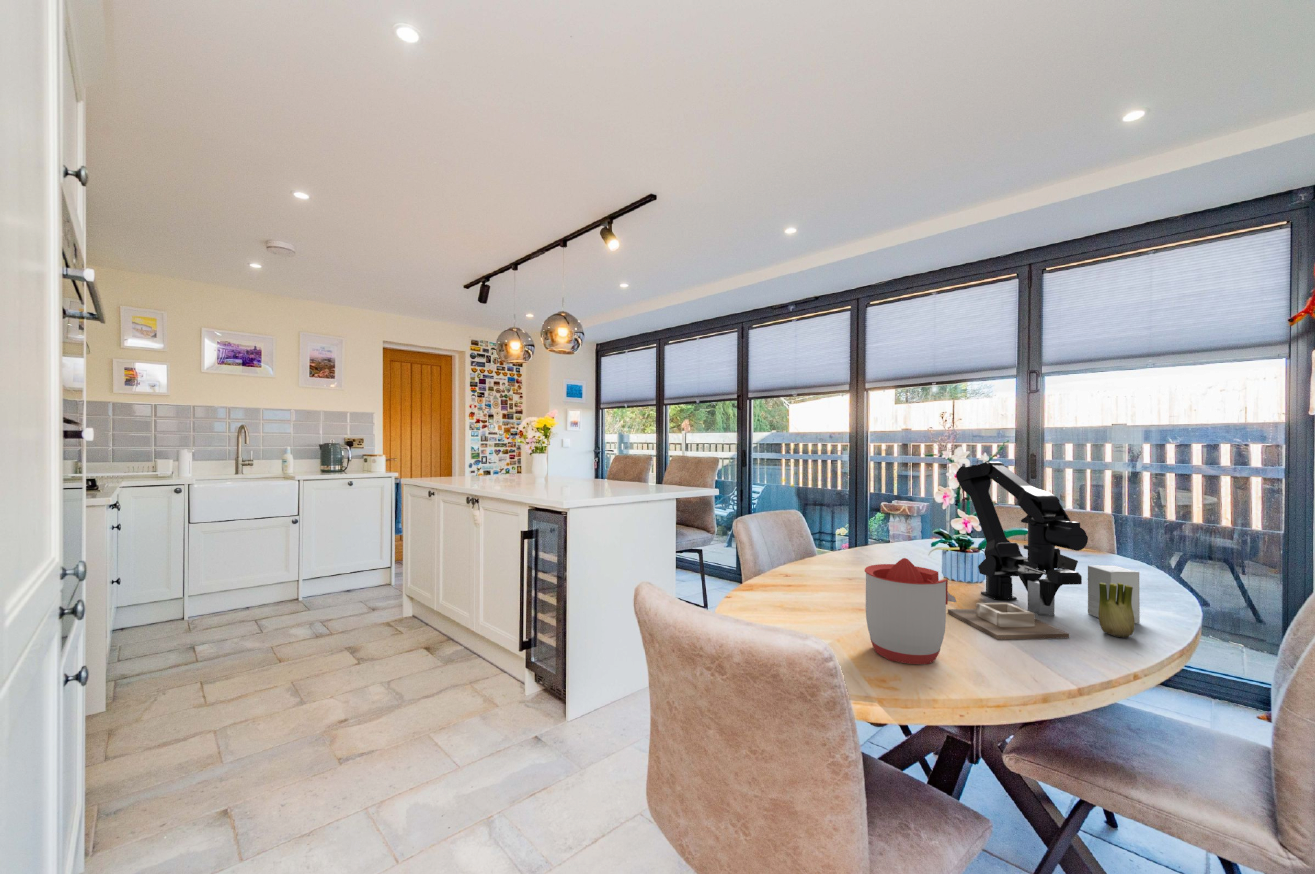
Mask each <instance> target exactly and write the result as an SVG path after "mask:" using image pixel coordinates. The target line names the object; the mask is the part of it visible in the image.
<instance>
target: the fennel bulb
mask: <svg viewBox="0 0 1315 874" xmlns="http://www.w3.org/2000/svg"><path fill="white" fill-rule="evenodd" d="M1099 588H1100V601H1099V618H1098V621H1099V626H1100V628H1101V630H1102V632H1103V633H1106V634H1108V635H1110V636H1112V637H1116V638H1123V639H1127V638H1129V637H1130V636H1132V635H1133V633H1134V632H1135V625H1136V623H1135V621H1134V614H1133V609H1132V604H1131V601H1132V590H1133V587H1131V586H1129V585H1125V587H1124V592H1123V584H1121V583H1118V589H1117V586H1116V584H1113V583H1112V584H1110V586H1109V596H1108V597H1109V598H1108V600H1107V588H1106V584H1105V583H1099ZM1116 593H1117V599H1116Z"/></svg>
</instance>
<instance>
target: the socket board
mask: <svg viewBox="0 0 1315 874" xmlns="http://www.w3.org/2000/svg"><path fill="white" fill-rule="evenodd" d="M975 604H976V606H975V607H976V608H948V609H947V614H948V613H949V615H951V616H952V617H954V618H957V619H958V620H960V621H962V622H963V621H964V623H965V622H966V624H967V625H969V624H970V625H969V626H972V627H973V628H975V629H977V630H979V631H981V632H982V633H984V632H985V633H984V634H986V635H988V636H990V637H992V638H994V639H996V640H1032V639H1034V640H1036V639H1037V640H1041V639H1043V640H1044V639H1070V633H1068V632H1066V631H1064V630H1062V629H1060V628H1057V627H1054V626H1053V625H1050V624H1048V623H1046V622H1043V621H1041V620H1039V619H1036V618H1035V617H1036V616H1035V615H1036V614H1035V613H1032V612H1030V611H1028V609H1025V608H1022V607H1020V606H1017V605H1016V604H1012V603H1011V602H976V603H975Z"/></svg>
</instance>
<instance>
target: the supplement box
mask: <svg viewBox="0 0 1315 874" xmlns="http://www.w3.org/2000/svg"><path fill="white" fill-rule="evenodd" d="M1099 583H1105V584H1106V588H1107V600H1108V598H1109V597H1108V596H1109V586H1110V584H1112V583H1113V584H1116V586H1117V589H1118V583H1121V584H1123V592H1124V587H1125V585H1129V586H1131V587H1133V590H1132V601H1131V604H1132V609H1133V614H1134V621H1135V624H1140V622H1141V621H1140V618H1141V617H1140V616H1141V615H1140V613H1141V612H1140V611H1141V610H1140V572H1139V571H1136V570H1133V569H1128V568H1125V567H1121V566H1118V565H1110V564H1109V565H1107V564H1105V565H1101V564H1100V565H1097V564H1096V565H1095V564H1093V565H1087V614H1088V615H1090V616H1093V617H1095V618H1098V619H1099V601H1100V588H1099ZM1116 599H1117V593H1116Z"/></svg>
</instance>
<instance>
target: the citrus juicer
mask: <svg viewBox="0 0 1315 874" xmlns="http://www.w3.org/2000/svg"><path fill="white" fill-rule="evenodd" d="M864 572H865V618H866V625H867V629H868V633H869V638H870V639H869V640H870V641H871V645H872V647H873V649H874V651H875V652H876V654H878V655H880V656H881V657H883V658H885V659H886V660H887V661H891V662H897V663H903V664H910V665H929V664H931V663H933V662H935V661H936V660H937V657H938V656H939V654H940V651H941V647H942V644H943V641H944V637H945V633H946V623H947V620H946V618H947V613H946V611H947V605H949V604H948V603H949V602H951V603H952V602H953V603H957V599H956V598H955V595H952V594H950V592H949V591H948V586H949V585H948V578H944V579H939V577H940V576H939V571H937V570H934V569H931V568H928V567H927V568H926V567H922V566H915V565H914V564H913V563H912V561H911V560H909V559H908V558H906V557H903V558H901V559H900V560H898V561H897V562H896V563H894V564H892V563H891V564H890V563H884V564H883V563H882V564H881V563H880V564H879V563H878V564H873V565H872V564H871V565H868V566H866V567H865V568H864Z"/></svg>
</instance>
